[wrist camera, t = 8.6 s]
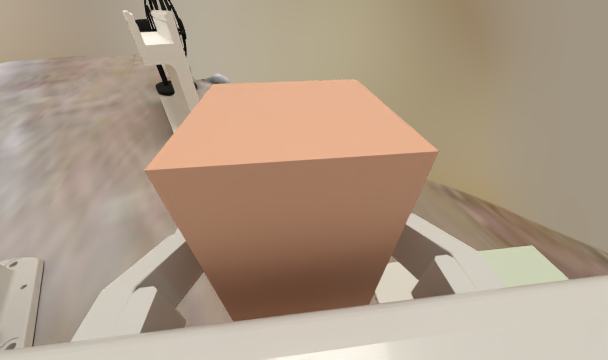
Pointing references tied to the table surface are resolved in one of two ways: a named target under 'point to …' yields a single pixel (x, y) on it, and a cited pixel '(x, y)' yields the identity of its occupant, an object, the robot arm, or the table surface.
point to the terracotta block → (291, 192)
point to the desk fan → (144, 26)
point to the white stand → (167, 63)
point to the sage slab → (521, 266)
